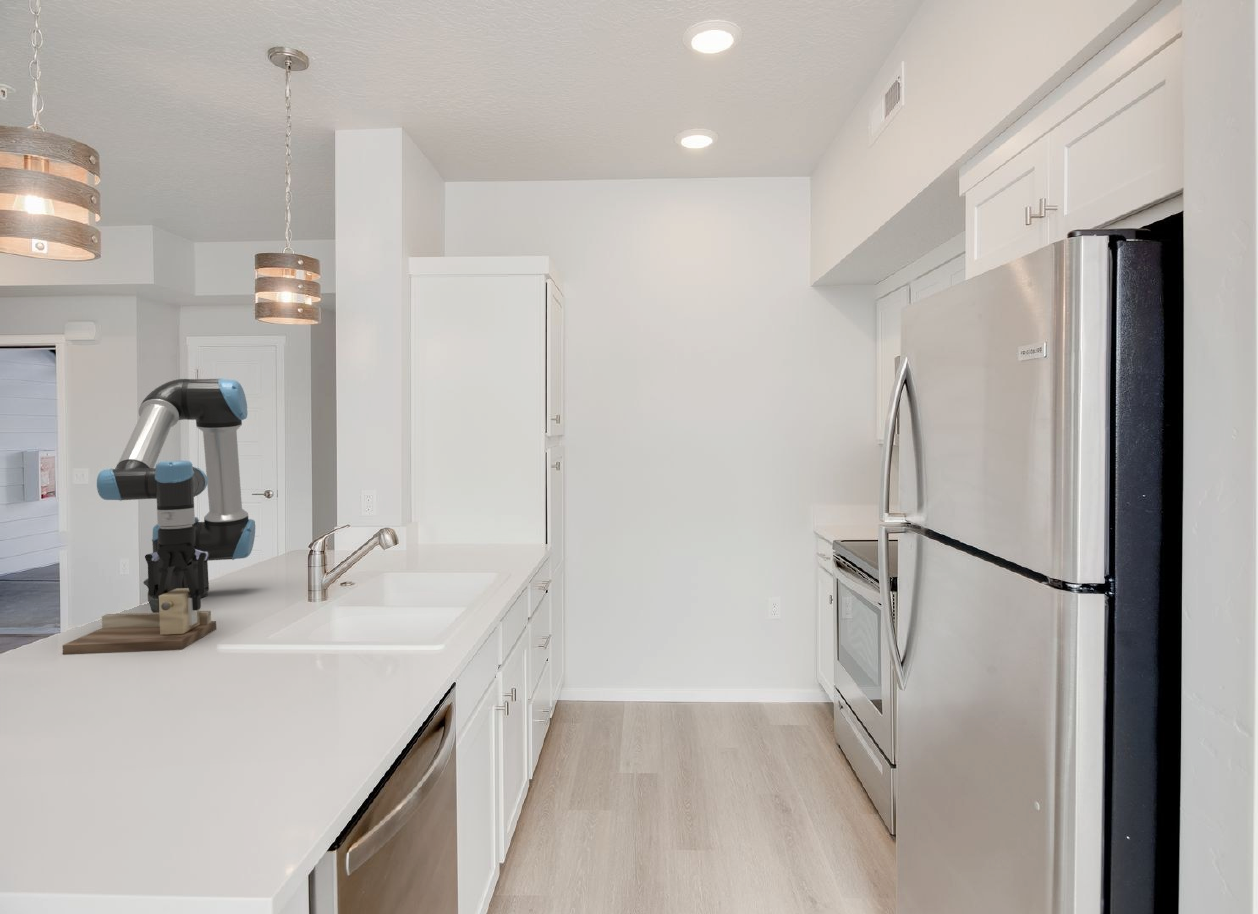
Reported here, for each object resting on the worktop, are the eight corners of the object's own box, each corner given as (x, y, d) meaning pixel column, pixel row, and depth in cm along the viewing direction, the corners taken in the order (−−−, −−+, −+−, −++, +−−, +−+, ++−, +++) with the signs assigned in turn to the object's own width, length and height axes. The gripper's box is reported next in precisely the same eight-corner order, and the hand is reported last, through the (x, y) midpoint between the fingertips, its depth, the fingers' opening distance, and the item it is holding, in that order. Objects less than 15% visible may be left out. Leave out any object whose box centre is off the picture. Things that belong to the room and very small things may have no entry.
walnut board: (109, 633, 180) (108, 612, 180) (216, 629, 182) (215, 609, 182) (62, 654, 163) (61, 631, 163) (181, 649, 165) (180, 627, 165)
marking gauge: (182, 623, 180) (180, 586, 179) (203, 622, 180) (202, 585, 180) (155, 637, 167) (153, 598, 167) (178, 636, 168) (176, 597, 168)
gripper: (126, 529, 168) (130, 630, 169) (209, 527, 170) (212, 627, 171) (144, 525, 176) (148, 621, 177) (223, 523, 177) (227, 618, 178)
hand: (180, 624), depth 174 cm, fingers closed on marking gauge, 5 cm apart
